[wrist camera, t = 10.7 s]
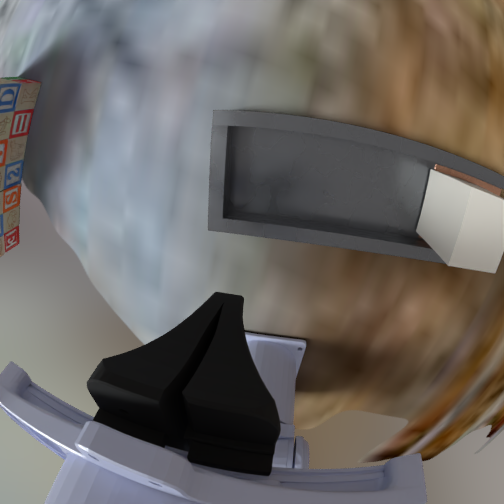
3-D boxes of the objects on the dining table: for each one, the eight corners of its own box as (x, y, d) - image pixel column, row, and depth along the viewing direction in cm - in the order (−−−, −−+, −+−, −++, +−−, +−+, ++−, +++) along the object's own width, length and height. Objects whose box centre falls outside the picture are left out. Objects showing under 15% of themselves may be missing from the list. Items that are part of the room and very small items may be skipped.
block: (460, 240, 18) (495, 273, 13) (415, 231, 18) (447, 265, 13) (476, 184, 15) (517, 206, 10) (430, 168, 16) (471, 186, 11)
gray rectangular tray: (475, 258, 19) (488, 270, 17) (216, 219, 21) (208, 230, 19) (499, 175, 15) (515, 182, 13) (222, 111, 17) (213, 109, 15)
